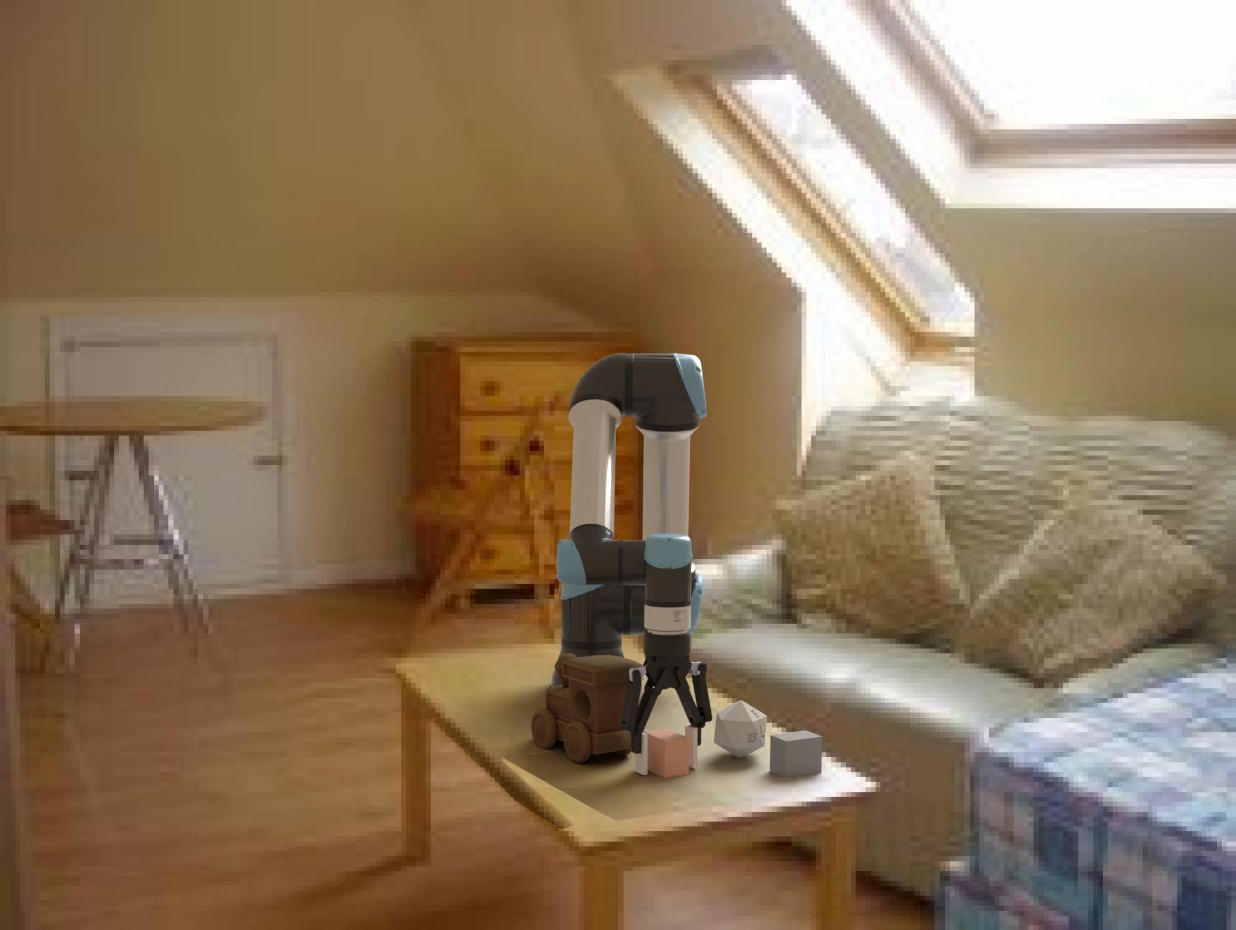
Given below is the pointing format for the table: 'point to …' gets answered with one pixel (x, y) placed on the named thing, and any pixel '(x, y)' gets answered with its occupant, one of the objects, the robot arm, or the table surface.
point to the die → (740, 729)
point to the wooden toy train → (585, 707)
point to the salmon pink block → (667, 753)
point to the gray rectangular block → (795, 754)
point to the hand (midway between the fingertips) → (666, 769)
